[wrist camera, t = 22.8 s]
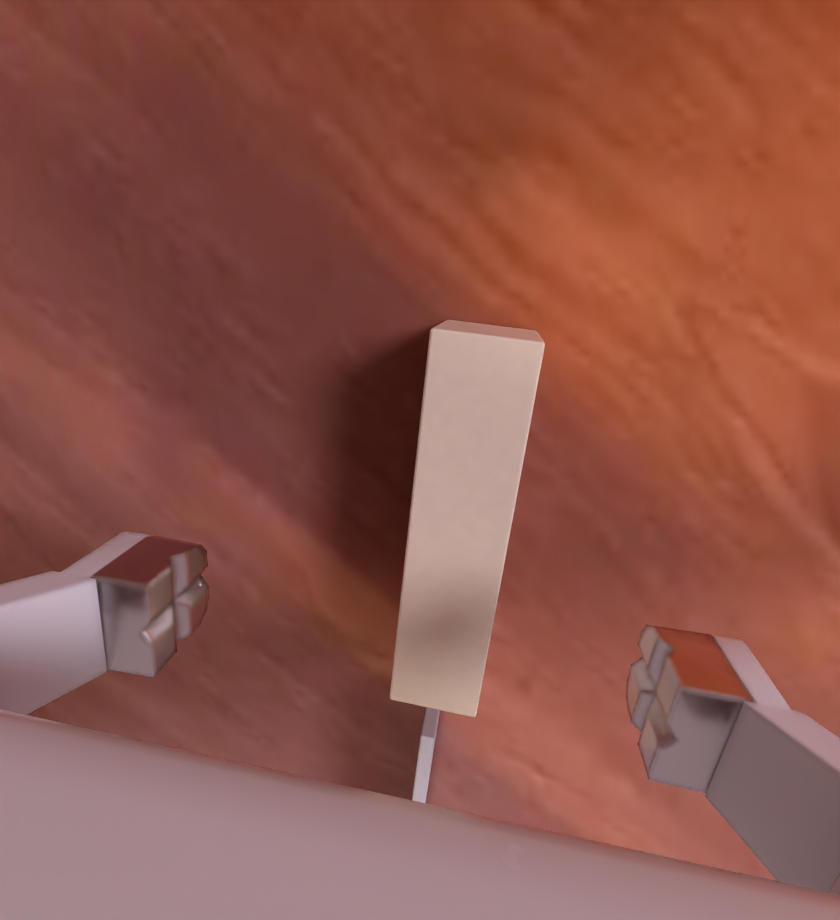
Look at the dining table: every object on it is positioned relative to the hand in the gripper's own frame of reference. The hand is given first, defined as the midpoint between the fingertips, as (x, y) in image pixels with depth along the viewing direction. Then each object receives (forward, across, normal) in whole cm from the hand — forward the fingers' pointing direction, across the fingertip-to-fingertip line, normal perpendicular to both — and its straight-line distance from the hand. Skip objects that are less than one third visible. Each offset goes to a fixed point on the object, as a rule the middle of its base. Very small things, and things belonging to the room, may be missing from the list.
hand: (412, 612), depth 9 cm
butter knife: (+6, -1, +6) cm, 9 cm away
